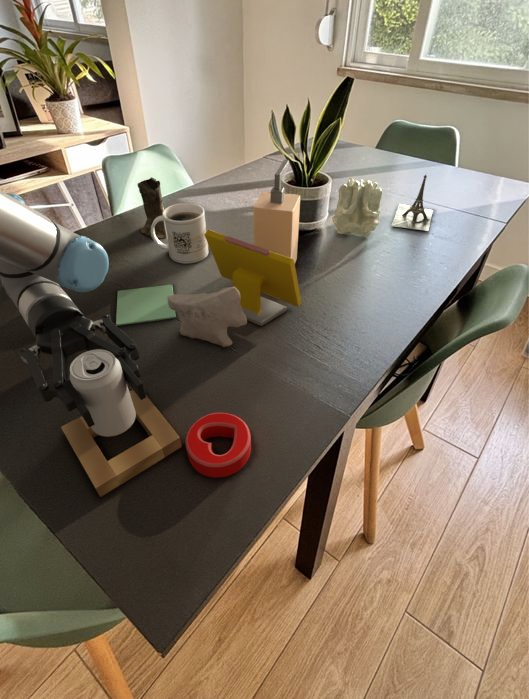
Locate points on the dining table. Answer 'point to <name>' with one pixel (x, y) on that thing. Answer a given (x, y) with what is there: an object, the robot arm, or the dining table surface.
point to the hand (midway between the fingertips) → (116, 405)
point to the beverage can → (103, 391)
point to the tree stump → (152, 206)
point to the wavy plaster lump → (358, 208)
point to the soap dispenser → (277, 218)
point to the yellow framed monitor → (256, 276)
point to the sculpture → (209, 314)
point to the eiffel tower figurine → (414, 214)
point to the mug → (183, 232)
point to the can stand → (129, 461)
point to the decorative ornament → (203, 452)
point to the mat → (144, 305)
